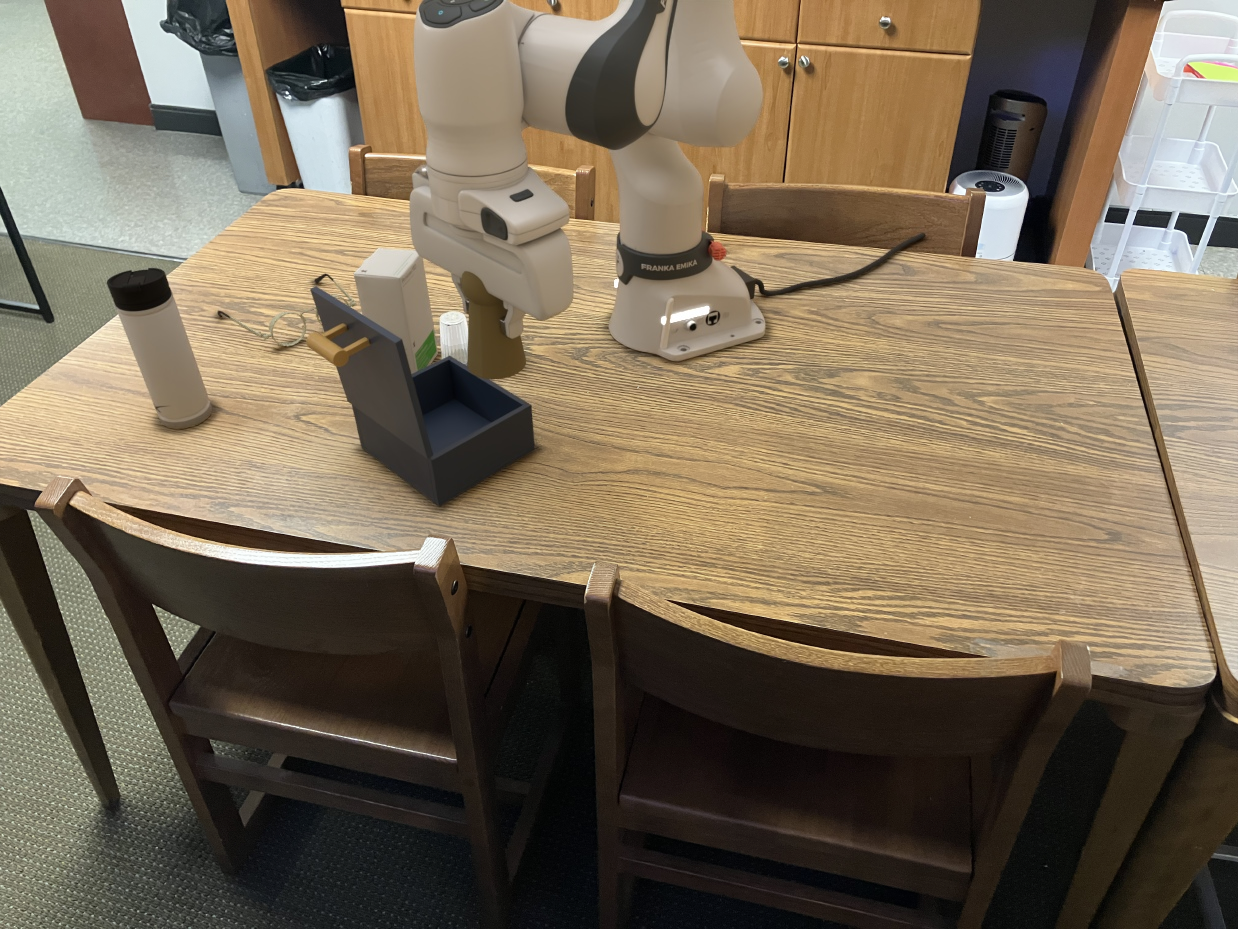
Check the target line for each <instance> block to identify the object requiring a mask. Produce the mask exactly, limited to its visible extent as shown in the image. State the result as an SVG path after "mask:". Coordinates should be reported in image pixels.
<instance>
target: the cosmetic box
mask: <svg viewBox="0 0 1238 929" xmlns="http://www.w3.org/2000/svg"><path fill="white" fill-rule="evenodd" d="M424 263H425V262H424V258H422V257H421V256H419V255H418V253H417V252H416V250H415V249H404V248H403V249H402V248H385V247H378V248H377V249H376V250H374V252H373V253H372V254H371V255H370V256H369V257H366V258H365V259H364V260H363V261H362V264H361V265H360V266H359V267H358V268H357V269H356V271H354V272H353V279H354V282H355V287H356V292H357V296H358V302H359V306H360V311H361V314H362V315H364V316H365V317H367V318H369V319H370V320H372V321H373V322H375V323H377V324H378V325H380V326H382V327H383V328H385V329H386V330H388V331H390V332H391V333H393V334H395V335H396V336H398V337H399V338H401V339H402V341H403V344H404V348H405V352H406V355H407V359H408V363H409V367H410V370H411V374H413V373H415V372H417V371H419V370H421V369H423V368H425V367H427V366H429V365H431V364H433V363H434V360H435V359H436V358H437V356H439V355H438V354H439V348H438V342H437V338H436V332H435V325H434V318H433V313H432V305H431V299H430V294H429V288H428V281H427V274H426V269H425V264H424Z"/></svg>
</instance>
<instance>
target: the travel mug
mask: <svg viewBox="0 0 1238 929" xmlns="http://www.w3.org/2000/svg"><path fill="white" fill-rule="evenodd" d="M106 285H107V288H108V291H109V293H110V295H111V298H112V299H113V303H114V304H113V305H114V307H115V310H116V312H117V315H118V317H119V320H120V324H121V326H122V328H123V330H124V332H125V335H126V337H127V341H128V343H129V345H130V348H131V350H132V353H133V355H134V356H133V357H134V358H135V361H136V363H137V366H138V368H139V370H140V374H141V376H142V379H143V381H144V384H145V386H146V389H147V391H148V394H149V396H150V398H151V401H152V404H153V407H154V409H155V412H156V414H157V417H158V419H159V422H160V424H161V425H163V426H164V427H166V428H168V429H173V430H183V429H188V428H193V427H195V426H198V425H199V424H201V423H203V422H204V421H206V420H207V419H208V418H209V417H210V415H211V414H212V411H213V406H212V403H211V401H210V398H209V395H208V392H207V388H206V385H205V382H204V380H203V377H202V375H201V371H200V368H199V366H198V362H197V360H196V357H195V354H194V351H193V348H192V345H191V343H190V339H189V336H188V334H187V331H186V327H185V325H184V322H183V319H182V316H181V313H180V310H179V308H178V304H177V302H176V299H175V297H174V293H173V291H172V289H171V286H170V282H169V280H168V277H167V275H166V271H165V270H163V269H162V268H158V267H148V268H147V269H137V270H132V269H129V270H125V271H122V272H119V273H117V274H113V275H112V276H110V277H109V278H108V279H107V280H106Z"/></svg>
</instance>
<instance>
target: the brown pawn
mask: <svg viewBox="0 0 1238 929" xmlns="http://www.w3.org/2000/svg"><path fill="white" fill-rule="evenodd" d="M461 285H462V289H463V292H464V294H465V295H466V297H467V298H468V299H469V314H468V323H467V326H468V327H467V359H466V360H467V361H466V362H467V363H466V366H467V368H468V369H469V371H470V372H471V373H472V374H473V375H475V376H477V377H480V378H484V379H489V380H503V379H507V378H508V379H509V378H512V377H513V376H515V375H518V374H519V373H521V372H522V371H523V370H524V369H525V367H526V365H527V357H526V353H525V349H524V344H523V340H522V336H521V335H522V334H521V335H520V336H518V337H515V338H513V339H511V338H509V337H507V336H506V335H504V334H502V333H501V332H500V328H501V327H500V325H499V319H500V318H502V317H504V316H506V315H507V312H508V309H505V308H504V303H503V301H502V300H501V299H499V298H497V297H495V296H493V295H491V294H489V293H488V292H487V290H486V288H485V286H484V284H483V282H482V281H481V279H480V278H479V277H478V276H476V275H475V274H473V273H471V272H468V271H464V272H463V274H462V278H461Z"/></svg>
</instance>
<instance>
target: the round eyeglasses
mask: <svg viewBox="0 0 1238 929" xmlns="http://www.w3.org/2000/svg"><path fill="white" fill-rule="evenodd" d="M326 277H327V278H328V279H329V280H331V281H332V283H334V284H335V286H336V287H337V288H338V289H339V290H340V292H342V293H343V295H344V296H345V297H346V298H347V299H348V301H347V300H346V299H345V298H344V297H343V296H341V295H340V294H335V293H332V294H330V295H331V296H333V297H335V298H338V299H342V301H343V303H345V304H346V305H348V306H349V307H351V308H353V307H356V306H357V305H358V304H357V302H356V301H355V300H354V298H353V297H352V296H351V295H350V294H349V293H347V291H346V290H345V289H344V288H343V287H342V286H341V285H340V284H339V283H338V282H337V281H336V280H335V278H333V277H332V276H331V275H330V274H328V273H323V274H321V275H319V276H318V277H316V278H314V283H315V284H319V283H320V282H321V281H322V280H324V278H326ZM311 311H315V318H316V320H317V322H318V323H319V325H320V326H322V323H321V320H320V317H319V314H318V311H317V308H316V306H315V307H311V308H309V309H305V310H302V312H300V314H299V313H297V312H295V311H281V312H279V313H277V314H276V315H274V316H273V317H272V318H271V320H270V322H269V324H268V331H269V332H270V333H269V334H268V333H267V332H264V333H262V332H261V331H260V330H259V331H256V330H255V329H253V328H252V327H250V326H248V325H247V324H244V323H243V322H241V321H239V320H238V319H236V318H235V317H233V316H230V315H228V314H227V313H225V312H224V311H222V310H217V315H218V317H220V318H222V317H223V316H225V317H226V318H228V319H229V320H230V321H232V322H234V323H236V324H237V325H239V326H240V327H242V328H243V329H245V330H246V331H248V332H250V333H251V334H253V335H254V336H256V337H258V338H260V339H262V338H263V340H264V341H265V340H269V338H271V339H272V340H273V341H274V342H275V343H276V344H277V347H292V346H295V345H297V344H298V343H300V342H301V341H302V340H303V339H304V337H305V335H306V332H307V323H306V322H307V321H306V318H305V316H303V315H304V314H305V313H307V312H311ZM285 315H296V316H298V317H300V319H301V320H302V323H303V325H301V329H303V330H302V333H301V335H300V337H299V338H298V339H297V340H295V341H292V342H289V343H287V342H279V341H277V340H276V339H275V337H274V327H275V325H276V323H277V321H278V320H279V319H280V318H282V317H284V316H285Z"/></svg>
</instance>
